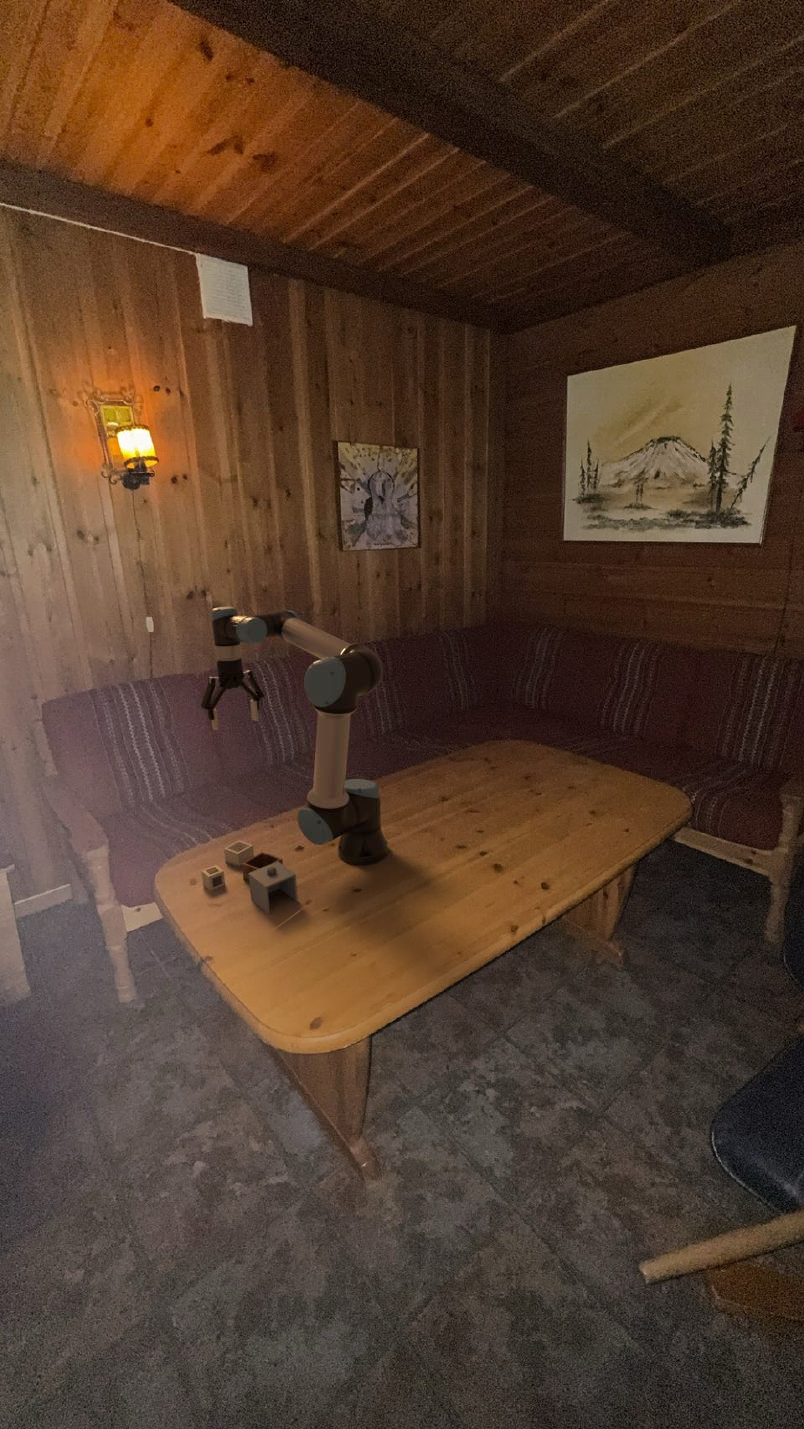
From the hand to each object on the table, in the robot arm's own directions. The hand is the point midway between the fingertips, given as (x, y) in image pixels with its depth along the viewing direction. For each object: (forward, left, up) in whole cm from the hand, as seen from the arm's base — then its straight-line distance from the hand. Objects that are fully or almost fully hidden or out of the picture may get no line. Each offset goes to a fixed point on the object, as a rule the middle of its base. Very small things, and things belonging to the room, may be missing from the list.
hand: (235, 724), depth 196 cm
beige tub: (-13, +15, -37) cm, 42 cm away
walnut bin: (-26, +18, -37) cm, 48 cm away
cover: (-37, +25, -37) cm, 58 cm away
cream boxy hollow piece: (-17, +28, -37) cm, 49 cm away
